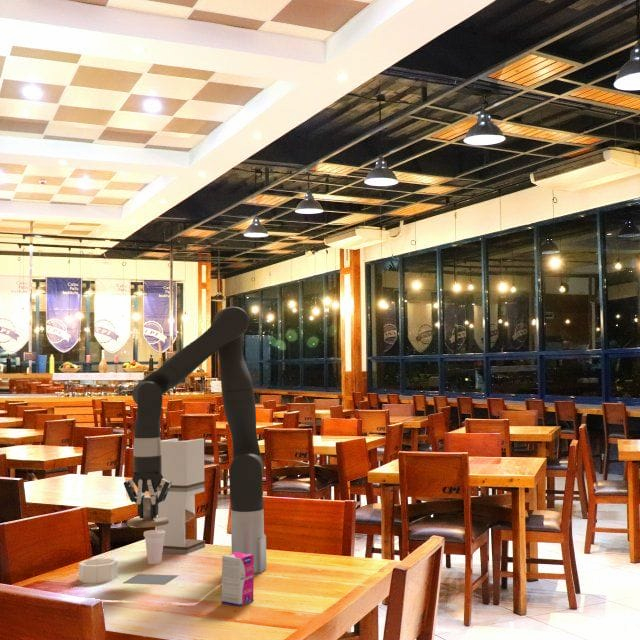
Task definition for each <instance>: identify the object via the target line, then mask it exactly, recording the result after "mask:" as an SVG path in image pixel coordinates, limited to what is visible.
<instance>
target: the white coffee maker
mask: <svg viewBox="0 0 640 640" xmlns="http://www.w3.org/2000/svg"><path fill="white" fill-rule="evenodd" d="M161 458H162V470H161V474H162V476H163V479H165V480H167V481H171V482H172V484H171V487H170V489H169V491H168V494H167V496H166V498H165V500H164V501H162V502H160V503H159V504H158V515H157V517H166V518H168V519H169V523H168V524H166V525H162V526H157V530H164V531H165V535H164V543H163V552H162V553H166V552H169V553H171V554H181V555H182V554H183V555H188V554H190V552H191V553H193V552H195V551H197V550H200V549H203V548H205V547H206V540H204V539H193V538H191V539H189V538H186V523H188V522H190V521H191V520H193V519H194V518H195V516H196V510H195V509H196V503H195V501H196V497H195V495H197V494H200V493H204V492H205V491H206V490H205V438H197V439H190V440H179V437H178V438H170V439H161ZM161 490H162V483H161V484H160V485H159V487H158V492H159V494H158V497H159V495H160V493H161Z"/></svg>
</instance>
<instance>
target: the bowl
mask: <svg viewBox="0 0 640 640" xmlns="http://www.w3.org/2000/svg"><path fill="white" fill-rule="evenodd" d="M118 565H119V563H118V560H117V559H115V558H111V557H110V558H109V557H108V558H107V557H98V558H90V559H85V560H82V561H81V562H78V580H79V581H80V582H82V583H83V584H99V583H105V582H106V583H107V582H112V581H115V579H118V577H119V575H118V574H119V571H118V569H119V568H118V567H119V566H118Z"/></svg>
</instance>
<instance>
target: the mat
mask: <svg viewBox="0 0 640 640" xmlns="http://www.w3.org/2000/svg"><path fill="white" fill-rule="evenodd" d="M177 577H179V575H178V574H150V573H149V574H147V573H145V574H143V573H138V574H136V575H134V576H133V577H131V578H129V579H127V580H125V581H123V582H122V584H134V585H160V586H161V585H163V586H165V585H166V584H168V583H170V582H171V581H172V580H174V579H176V578H177Z"/></svg>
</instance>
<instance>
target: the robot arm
mask: <svg viewBox="0 0 640 640" xmlns="http://www.w3.org/2000/svg"><path fill="white" fill-rule="evenodd" d="M249 324H250V320H249V315H248V313H247V312H246V311H245V310H244V309H243V308H241V307H238V306H228V307H225V308H224V309H221V310H219V311H218V312H216V314H215V315H214V316H213V320H212V325H210V327H209V328H208V329H207V330H206V331H204V333H202V334H200V336H198V337H197V338H196V339H194V340H193V341H192V342H190V343H189V344H187V345H186V346H184V347H183V348H182V349H180V350H179V351H178V352H176V353H175V354H174V355H172V356H171V357H170V358H168V360H166V361H165V362H164V363H163V364H162V365H161V366H160V367H158V369H157V370H155V371H153V372H151V373H150V374H149V375H148V376H146V377H145V378H143V379H141V380H140V381H139V382H138V383H137V384H136V385H135V386H134V388H133V389H132V394H131V396H132V399H133V401H134V403H135V404H136V406H137V407H136V411H137V412H136V418H135V420H134V431H133V432H134V436H133V437H134V439H133V440H134V441H133V451H132V452H133V475H132V478H131V479H129V480H126V481H124V482H123V486H124V488H125V490H126V493H127V495H128V496H127V497H128V498H129V500H130V502H131V503H135V504H136V505H137V516H138V518H139V517H140V518H143V498H144V497H146V494H147V492H148V493H149V497H151V503H152V505H151V518H156V517H158V504H159V503H160V502H162V501H164V500H165V498H166V496H167V494H168V491H169V489H170V487H171V484H172V482H171V481H167V480H165V479H163V476H162V474H161V470H162V458H161V440H162V439H161V416H162V408H163V395H164V394H165V393H166V392H167V391H169V390H170V389H172V388H174V387H176V386H177V385H179V384H180V383H181V382H183V381H184V380H185V379H186V378H187V377H189V376H190V375H191V374H192V373H193V372H194V371H195V370H197V369H198V368H199V367H200V366H201V365H202V364H203V363H204V362H205V361H206V360H208V359H209V358H210V357H211V356H212V355H213V354H214V353H216V352H217V353H218V362H219V363H218V364H219V375H220V376H219V377H220V385H221V386H220V387H221V396H222V403H223V404H222V405H223V410H224V414H225V418H226V420H227V424H228V428H229V430H230V431H229V432H230V435H231V442H232V460H231V463H230V465H229V475H228V476H229V477H228V479H229V482H228V483H229V500H230V521H231V522H230V526H231V529H230V530H231V533H230V534H231V539H230V541H231V553H235V552H239V553H245V554H252V555H254V574H261V573H263V572H264V571H265V570H267V536H266V534H265V529H264V528H265V525H264V523H265V521H264V519H265V518H264V497H263V473H264V461H263V458H262V453H261V450H260V445H259V441H258V434H257V410H256V401H255V400H256V397H255V391H254V385H253V380H252V376H251V374H250V371H249V369H248V367H247V363H246V361H245V358H244V354H243V344H242V342H243V341H242V336H243V335H244V334H245V333H246V332H247V331H248V328H249ZM161 483H162V490H161V493H160V495H159V497H158V494H159V492H158V487H159V485H160V484H161ZM134 486H135V487H137V491H136V490H135V488H134Z"/></svg>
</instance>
